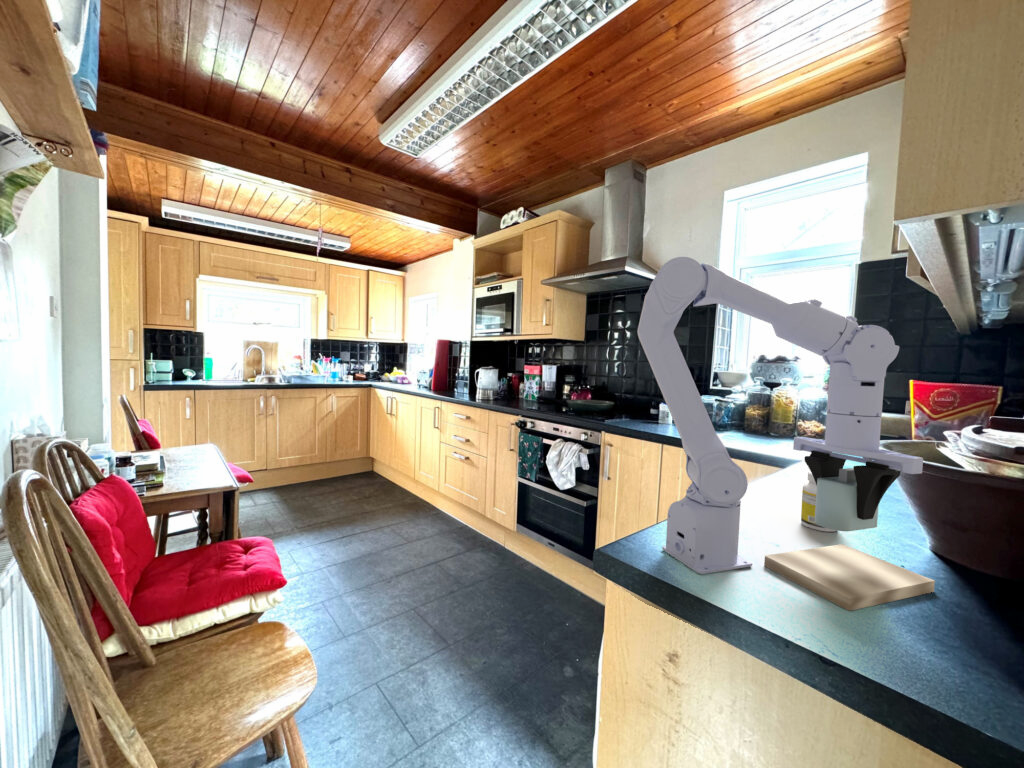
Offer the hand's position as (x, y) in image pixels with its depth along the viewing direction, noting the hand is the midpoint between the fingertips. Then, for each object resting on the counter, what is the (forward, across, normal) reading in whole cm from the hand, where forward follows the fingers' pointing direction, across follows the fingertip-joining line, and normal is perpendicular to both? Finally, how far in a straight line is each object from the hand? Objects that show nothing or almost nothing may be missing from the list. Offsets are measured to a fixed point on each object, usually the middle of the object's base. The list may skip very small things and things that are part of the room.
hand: (846, 512), depth 55 cm
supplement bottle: (+9, +14, -16) cm, 23 cm away
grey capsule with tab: (+2, 0, 0) cm, 2 cm away
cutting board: (+9, -1, 0) cm, 9 cm away
